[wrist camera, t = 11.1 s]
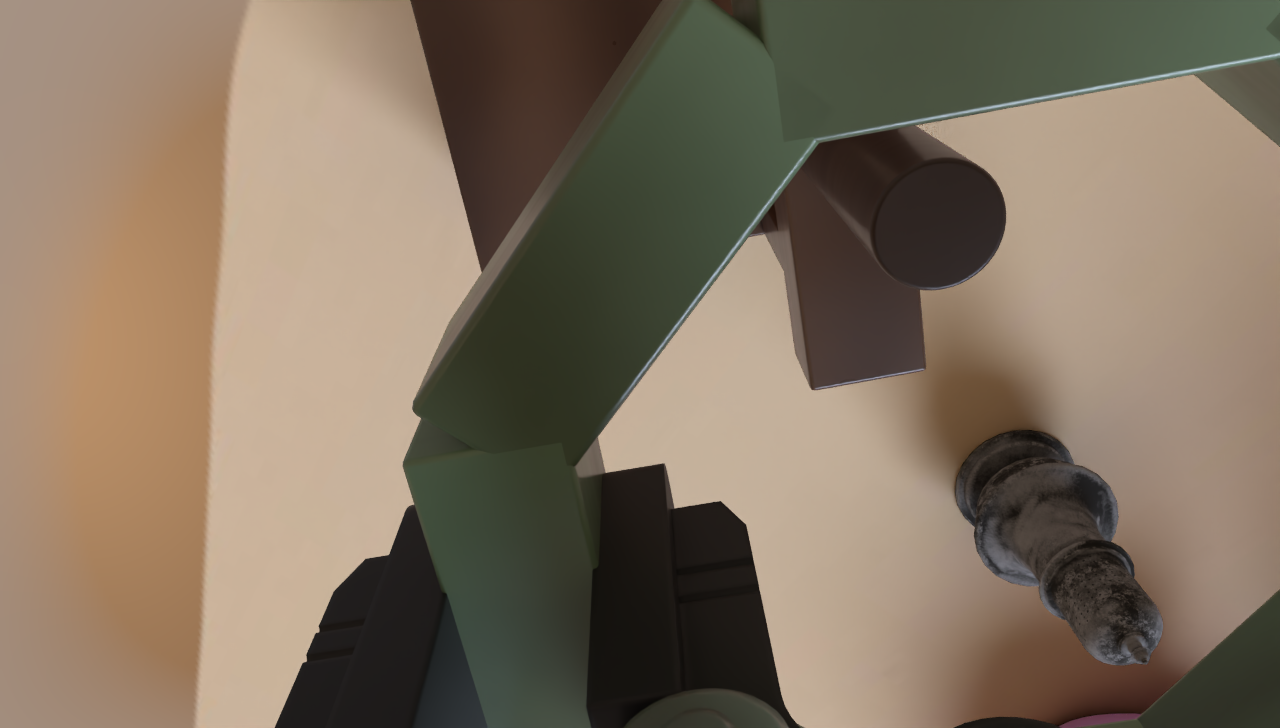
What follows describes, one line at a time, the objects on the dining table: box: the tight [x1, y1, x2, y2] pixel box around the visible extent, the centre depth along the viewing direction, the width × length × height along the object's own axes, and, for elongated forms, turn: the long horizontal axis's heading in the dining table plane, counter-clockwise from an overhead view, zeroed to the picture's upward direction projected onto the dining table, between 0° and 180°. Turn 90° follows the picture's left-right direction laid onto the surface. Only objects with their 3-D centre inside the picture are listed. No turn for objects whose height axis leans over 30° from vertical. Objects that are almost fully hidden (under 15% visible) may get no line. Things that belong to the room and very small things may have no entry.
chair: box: [410, 0, 1006, 390], centre depth 25 cm, size 11×10×26 cm
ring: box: [403, 0, 1280, 728], centre depth 10 cm, size 11×11×2 cm
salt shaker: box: [955, 430, 1163, 665], centre depth 39 cm, size 6×6×12 cm
